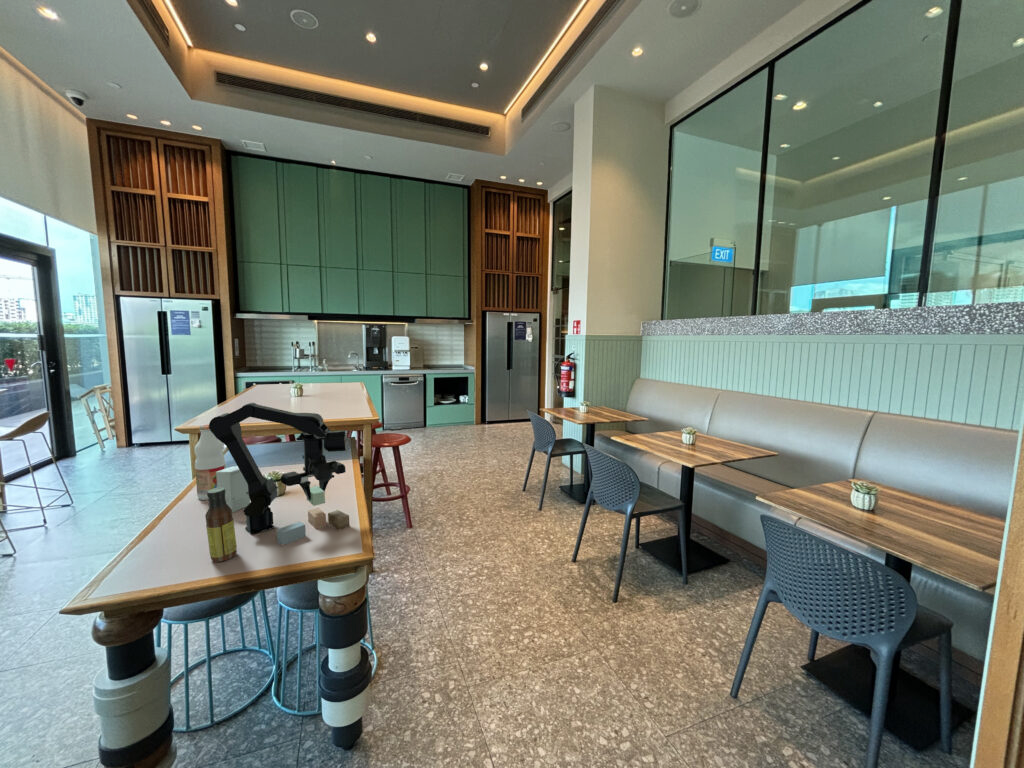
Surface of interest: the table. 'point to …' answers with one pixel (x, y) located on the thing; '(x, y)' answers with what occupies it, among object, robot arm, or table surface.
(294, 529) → the slate brick
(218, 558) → the sauce bottle
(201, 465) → the fruit juice
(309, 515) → the tan brick
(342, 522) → the walnut brick
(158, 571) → the table surface
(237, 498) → the skincare box
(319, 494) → the sage brick
